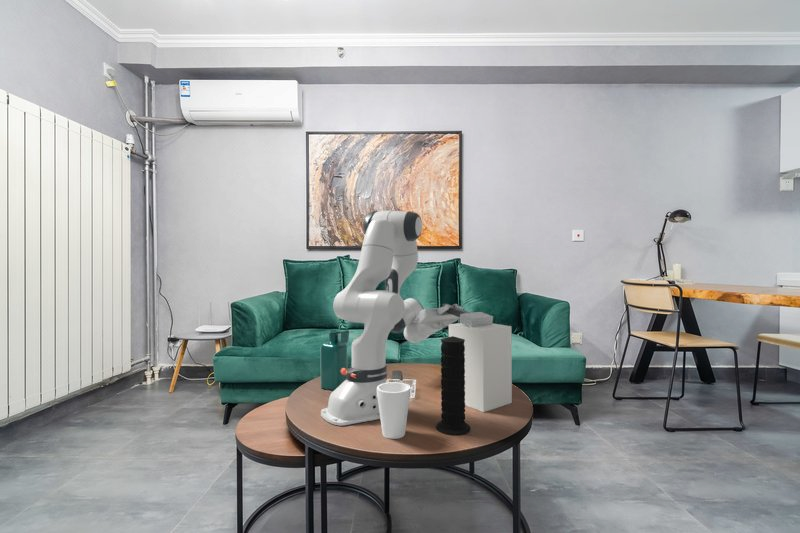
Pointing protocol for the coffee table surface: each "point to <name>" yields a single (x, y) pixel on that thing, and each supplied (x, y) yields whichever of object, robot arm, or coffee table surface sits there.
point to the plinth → (486, 364)
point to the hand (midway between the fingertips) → (452, 306)
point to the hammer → (471, 317)
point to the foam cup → (393, 408)
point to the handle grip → (453, 387)
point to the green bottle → (333, 359)
